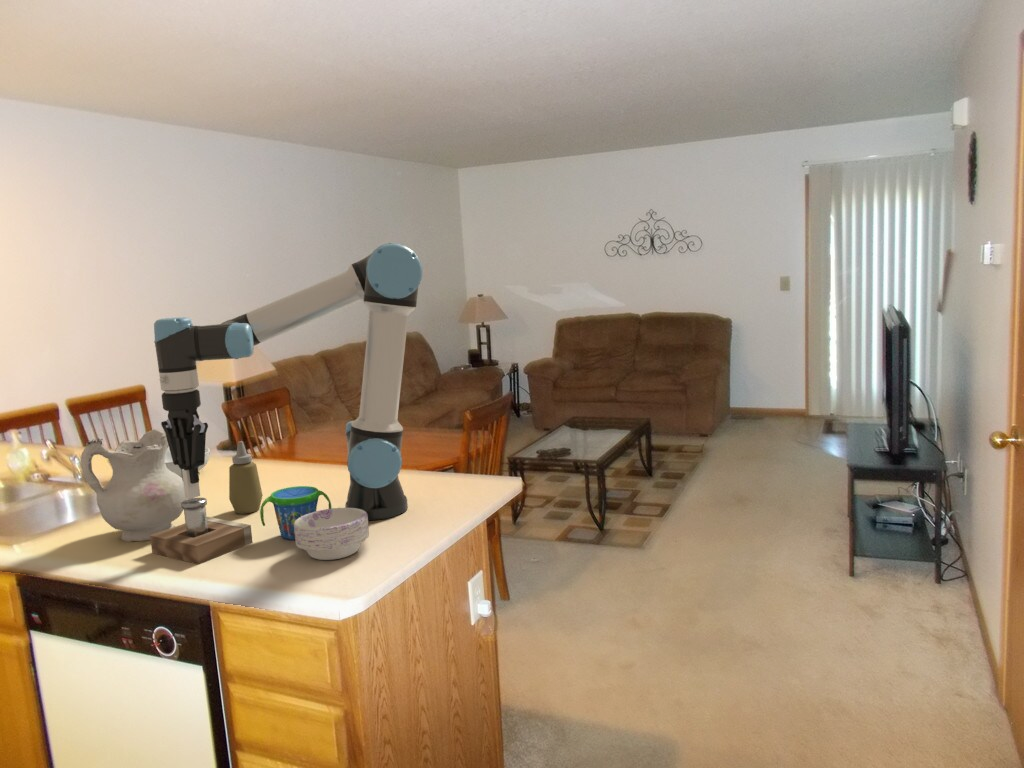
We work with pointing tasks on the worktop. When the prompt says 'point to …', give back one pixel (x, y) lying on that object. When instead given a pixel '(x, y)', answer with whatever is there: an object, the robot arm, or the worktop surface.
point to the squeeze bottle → (244, 482)
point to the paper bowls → (331, 532)
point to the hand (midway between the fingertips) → (192, 497)
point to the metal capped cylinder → (195, 516)
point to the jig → (202, 541)
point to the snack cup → (292, 506)
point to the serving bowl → (176, 468)
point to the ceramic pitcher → (136, 486)
